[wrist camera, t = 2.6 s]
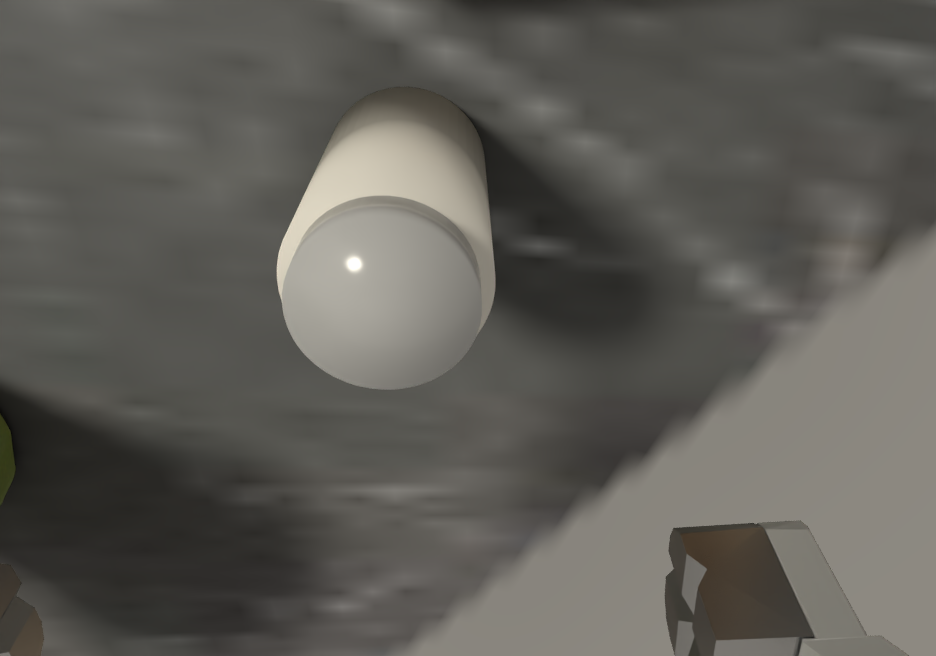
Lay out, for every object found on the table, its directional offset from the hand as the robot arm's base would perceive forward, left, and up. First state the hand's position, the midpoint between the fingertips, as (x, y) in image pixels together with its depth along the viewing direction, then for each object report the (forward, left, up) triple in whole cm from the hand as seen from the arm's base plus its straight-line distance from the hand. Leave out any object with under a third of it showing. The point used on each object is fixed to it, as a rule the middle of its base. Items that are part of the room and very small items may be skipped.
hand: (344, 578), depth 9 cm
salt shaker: (0, 0, -14) cm, 14 cm away
